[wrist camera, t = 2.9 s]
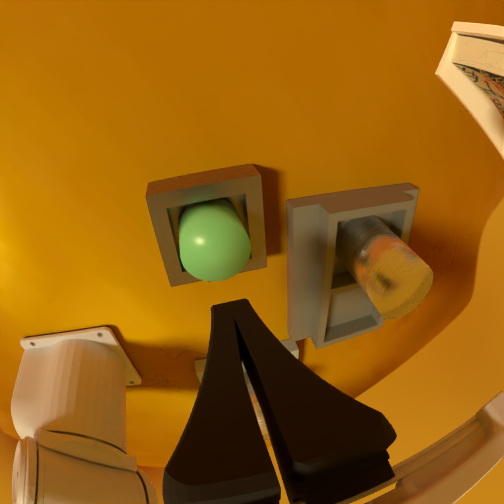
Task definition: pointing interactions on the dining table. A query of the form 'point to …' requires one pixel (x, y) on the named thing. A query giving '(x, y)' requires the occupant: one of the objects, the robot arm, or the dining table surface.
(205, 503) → the robot arm
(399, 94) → the dining table surface
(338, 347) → the dining table surface
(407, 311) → the seated billet
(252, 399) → the cylinder
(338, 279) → the grey pocketed tray
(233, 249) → the button
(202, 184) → the button housing
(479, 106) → the cigarette display
